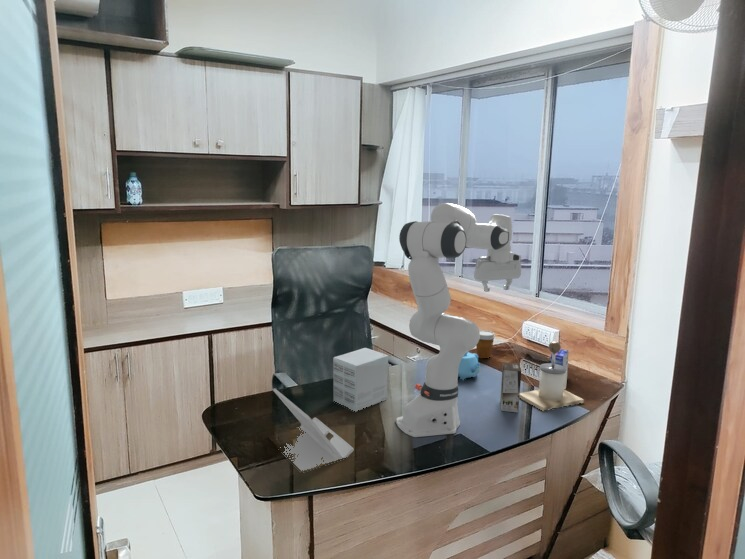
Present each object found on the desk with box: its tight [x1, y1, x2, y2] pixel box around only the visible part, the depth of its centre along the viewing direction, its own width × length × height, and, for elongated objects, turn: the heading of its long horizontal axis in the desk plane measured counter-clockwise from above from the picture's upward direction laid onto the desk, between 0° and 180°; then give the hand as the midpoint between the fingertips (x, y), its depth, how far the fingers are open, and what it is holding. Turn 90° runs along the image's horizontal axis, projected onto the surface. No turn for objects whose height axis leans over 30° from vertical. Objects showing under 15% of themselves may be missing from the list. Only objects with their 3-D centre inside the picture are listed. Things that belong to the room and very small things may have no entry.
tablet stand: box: [272, 387, 355, 471], centre depth 162 cm, size 18×25×17 cm
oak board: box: [519, 389, 584, 412], centre depth 201 cm, size 20×14×2 cm
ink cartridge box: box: [550, 348, 569, 372], centre depth 222 cm, size 10×6×14 cm, turn 148°
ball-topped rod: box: [548, 341, 562, 368], centre depth 198 cm, size 4×4×10 cm
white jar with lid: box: [538, 362, 568, 401], centre depth 201 cm, size 11×10×12 cm
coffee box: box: [499, 362, 523, 413], centre depth 193 cm, size 9×6×16 cm
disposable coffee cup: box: [475, 329, 496, 359], centre depth 250 cm, size 10×10×12 cm
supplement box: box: [332, 347, 389, 413], centre depth 197 cm, size 17×13×18 cm
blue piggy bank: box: [458, 351, 481, 380], centre depth 224 cm, size 15×14×11 cm
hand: (496, 290), depth 204 cm, fingers open, 8 cm apart
